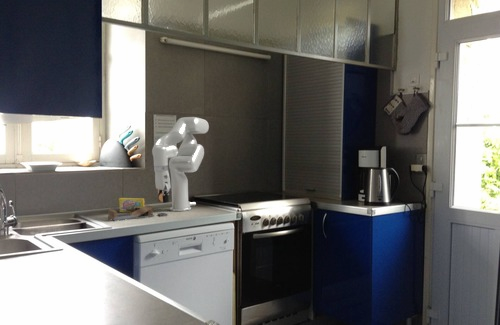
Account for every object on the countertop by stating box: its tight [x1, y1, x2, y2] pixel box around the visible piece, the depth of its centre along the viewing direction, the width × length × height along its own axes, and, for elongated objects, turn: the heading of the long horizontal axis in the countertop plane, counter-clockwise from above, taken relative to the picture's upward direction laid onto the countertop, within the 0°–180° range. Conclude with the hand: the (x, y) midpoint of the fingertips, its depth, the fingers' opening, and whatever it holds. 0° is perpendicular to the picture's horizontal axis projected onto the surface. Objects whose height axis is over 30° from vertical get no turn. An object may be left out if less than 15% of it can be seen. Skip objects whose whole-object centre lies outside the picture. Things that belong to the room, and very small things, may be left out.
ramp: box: [107, 204, 154, 221], centre depth 251 cm, size 22×9×5 cm, turn 126°
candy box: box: [118, 197, 146, 213], centre depth 270 cm, size 16×2×8 cm, turn 71°
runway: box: [108, 212, 155, 222], centre depth 252 cm, size 22×9×2 cm, turn 126°
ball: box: [159, 193, 163, 203], centre depth 257 cm, size 5×5×5 cm
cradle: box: [157, 212, 168, 217], centre depth 256 cm, size 3×5×1 cm, turn 36°
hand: (163, 201), depth 257 cm, fingers closed on ball, 5 cm apart
